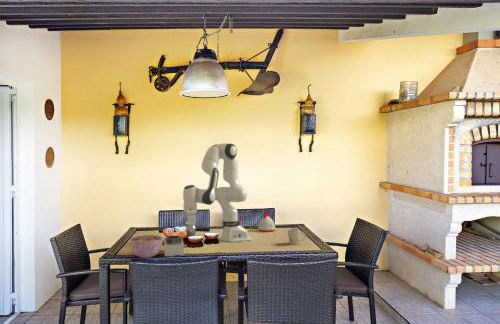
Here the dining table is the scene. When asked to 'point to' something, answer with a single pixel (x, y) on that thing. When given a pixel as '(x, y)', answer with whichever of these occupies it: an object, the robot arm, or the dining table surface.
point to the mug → (294, 235)
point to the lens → (189, 230)
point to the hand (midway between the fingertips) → (190, 230)
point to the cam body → (173, 245)
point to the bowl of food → (146, 245)
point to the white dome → (266, 224)
